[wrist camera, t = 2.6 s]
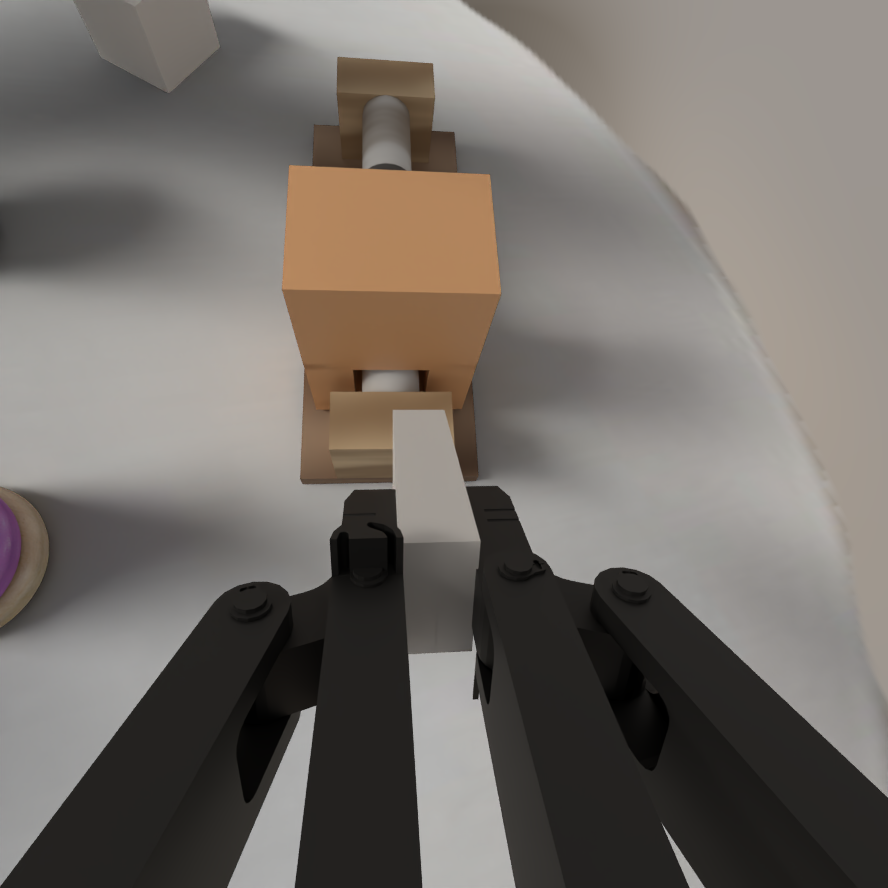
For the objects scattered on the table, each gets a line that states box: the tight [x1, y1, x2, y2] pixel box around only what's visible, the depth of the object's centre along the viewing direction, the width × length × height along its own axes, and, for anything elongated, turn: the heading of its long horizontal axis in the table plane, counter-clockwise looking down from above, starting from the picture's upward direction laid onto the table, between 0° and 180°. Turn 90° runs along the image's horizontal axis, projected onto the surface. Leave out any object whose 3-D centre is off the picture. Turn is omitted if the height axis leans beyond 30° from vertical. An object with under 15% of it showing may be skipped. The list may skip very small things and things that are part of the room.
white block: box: [74, 0, 220, 93], centre depth 39 cm, size 6×6×6 cm
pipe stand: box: [300, 57, 478, 484], centre depth 34 cm, size 26×10×6 cm, turn 3°
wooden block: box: [282, 165, 501, 410], centre depth 28 cm, size 6×8×12 cm
